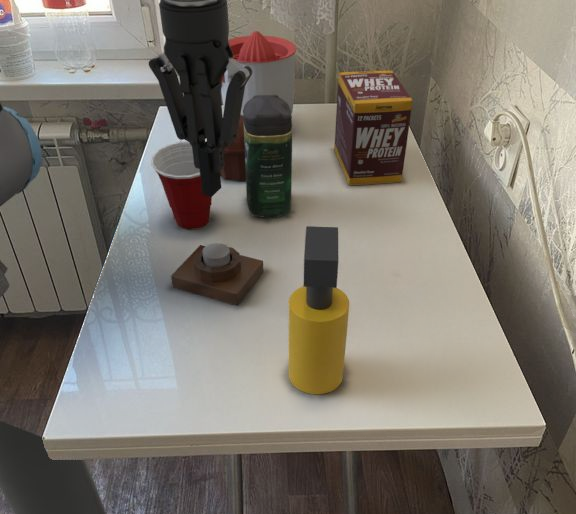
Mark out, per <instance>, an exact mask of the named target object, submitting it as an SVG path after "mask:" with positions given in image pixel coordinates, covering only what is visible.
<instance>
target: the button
mask: <svg viewBox="0 0 576 514" xmlns="http://www.w3.org/2000/svg"><path fill="white" fill-rule="evenodd" d="M205 246H206V247H205V248H204V249H203V261H204V264H205V265H206V266H209V267H223V266H225V265H227V264H229V263H230V249H229V247H230V246H228V245H226V244H225V243H221V242H220V243H219V242H215V243H210V244H207V245H205Z"/></svg>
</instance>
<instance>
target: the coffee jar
mask: <svg viewBox="0 0 576 514" xmlns="http://www.w3.org/2000/svg"><path fill="white" fill-rule="evenodd" d="M243 115H244V120H243V122H244V142H245V167H246V180H245V189H246V190H245V191H246V203H247V205H246V206H247V208H248V211H249V212H250V214H251V215H252V216H255V217H261V218H265V219H272V218H273V219H275V218H279V217H281V216H285V215H287V214H289V213H290V211H291V209H292V177H293V176H292V174H293V172H292V171H293V115H292V114H291V110H290V107H289V105H288V103H287V102H285V101H284V100H283V99H281V98H279V97H278V96H277V95H256V96H253V98H251V99H250V100H249V101H247V102H246V104H245V105H244V109H243Z"/></svg>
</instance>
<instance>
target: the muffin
mask: <svg viewBox="0 0 576 514" xmlns="http://www.w3.org/2000/svg"><path fill="white" fill-rule="evenodd" d="M243 120H244V115H240V120H239V126H238V132H237V138H236V140H234V141H233V142H232V143H231V144H230V145H229V146H228V147H227V148H223V150H224V162H225V165H224V168H223V169H222V170H221V171H220V177H222V178H223V179H224V180H225V181H235V182H243V181H246V167H245V142H244V122H243Z"/></svg>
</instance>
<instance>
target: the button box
mask: <svg viewBox="0 0 576 514" xmlns="http://www.w3.org/2000/svg"><path fill="white" fill-rule="evenodd" d="M206 246H207V245H202V244H200V245H199V246H198V247H197V248H196V249H195V250H194V251H193V252H192V253H191V254H190V255H189V256H188V257H187V258H186V259H185V260H184V261H183V262H182V263H181V265H180V266H179V267H177V269H176V270H175V271H174V272H173V273H172V274H171V275H170V280H171V286H172V289H176V290H180V291H183V292H186V293H187V292H188V293H191V294H194V295H198V296H201V297H205V298H208V299H212V300H216V301H220V302H223V303H226V304H229V305H233V306H237V307H238V306H239V305H240V304H241V303H242V301H243V300H244V298H245V297H246V296H247V295H248V293H249V292H250V291H251V290H252V288H253V287H254V285H256V283H257V282H258V281H259V279H260V278H261V277H262V275H263V274H264V272H265V271H264V270H265V269H264V268H265V267H264V260H262V259H258V258H254V257H251V256H246V255H243V254H242V255H241V254H240V252H239V251H237V250H236V249H235V248H234V247H232V246H228V247H229V249H230V263H229V264H227V265H225V266H223V267H209V266H206V265H205V264H204V261H203V249H204V248H205V247H206Z"/></svg>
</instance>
